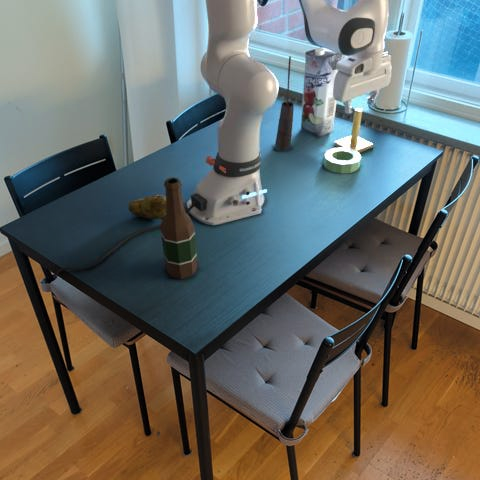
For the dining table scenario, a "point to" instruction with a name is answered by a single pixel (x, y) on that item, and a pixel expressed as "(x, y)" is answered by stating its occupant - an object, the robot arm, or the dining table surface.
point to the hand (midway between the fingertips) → (359, 108)
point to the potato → (149, 207)
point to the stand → (354, 136)
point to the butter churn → (285, 122)
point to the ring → (337, 154)
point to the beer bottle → (178, 234)
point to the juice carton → (319, 91)
